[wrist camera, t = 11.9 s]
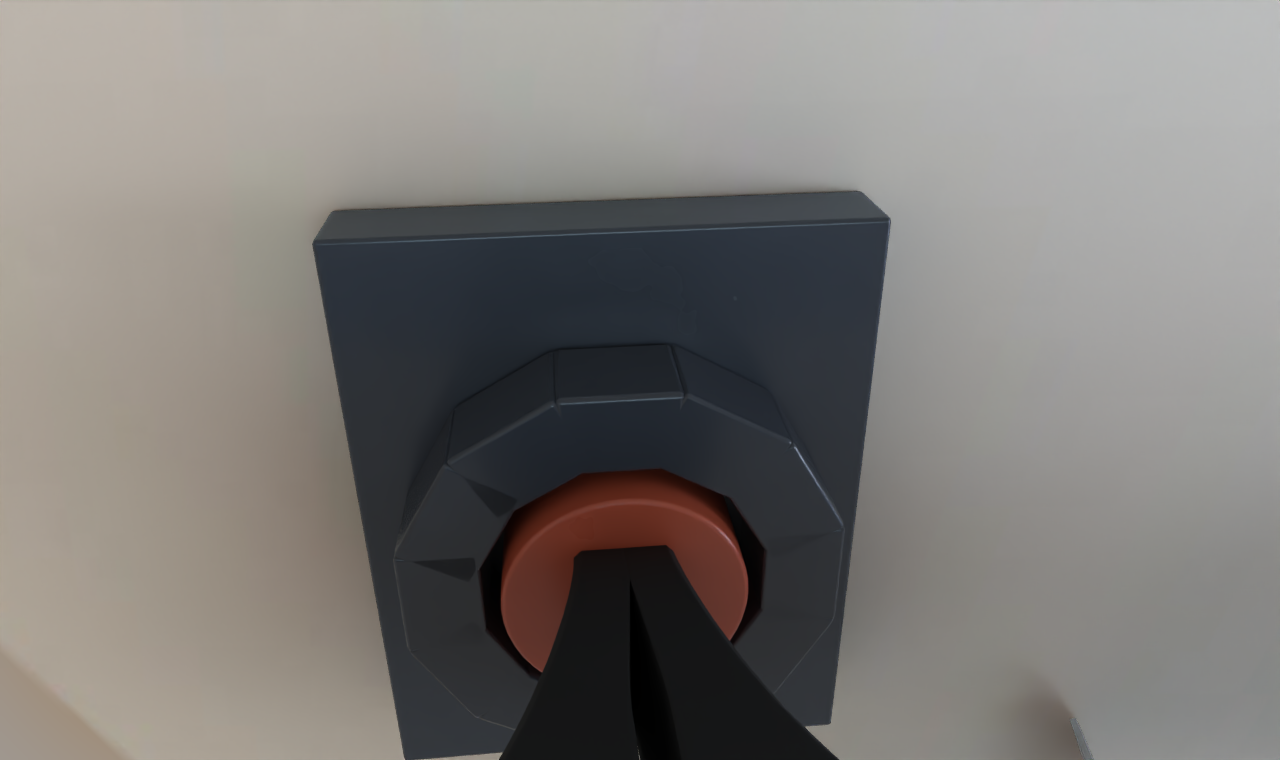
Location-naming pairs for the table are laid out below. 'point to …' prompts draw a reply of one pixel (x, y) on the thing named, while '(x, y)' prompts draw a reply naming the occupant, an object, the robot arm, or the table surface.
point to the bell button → (608, 520)
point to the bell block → (599, 413)
